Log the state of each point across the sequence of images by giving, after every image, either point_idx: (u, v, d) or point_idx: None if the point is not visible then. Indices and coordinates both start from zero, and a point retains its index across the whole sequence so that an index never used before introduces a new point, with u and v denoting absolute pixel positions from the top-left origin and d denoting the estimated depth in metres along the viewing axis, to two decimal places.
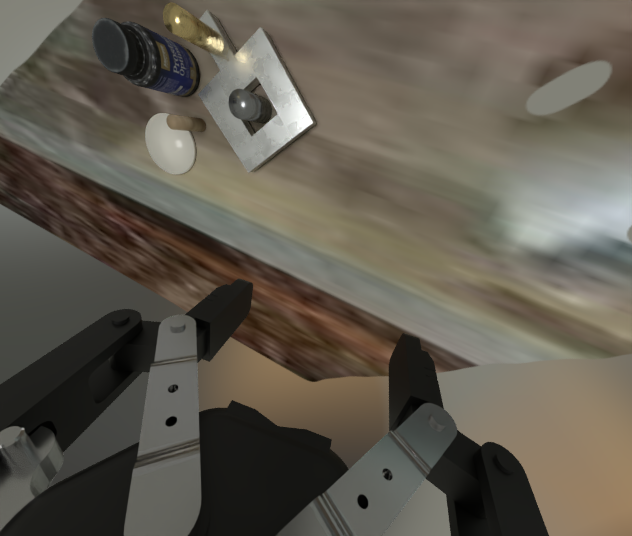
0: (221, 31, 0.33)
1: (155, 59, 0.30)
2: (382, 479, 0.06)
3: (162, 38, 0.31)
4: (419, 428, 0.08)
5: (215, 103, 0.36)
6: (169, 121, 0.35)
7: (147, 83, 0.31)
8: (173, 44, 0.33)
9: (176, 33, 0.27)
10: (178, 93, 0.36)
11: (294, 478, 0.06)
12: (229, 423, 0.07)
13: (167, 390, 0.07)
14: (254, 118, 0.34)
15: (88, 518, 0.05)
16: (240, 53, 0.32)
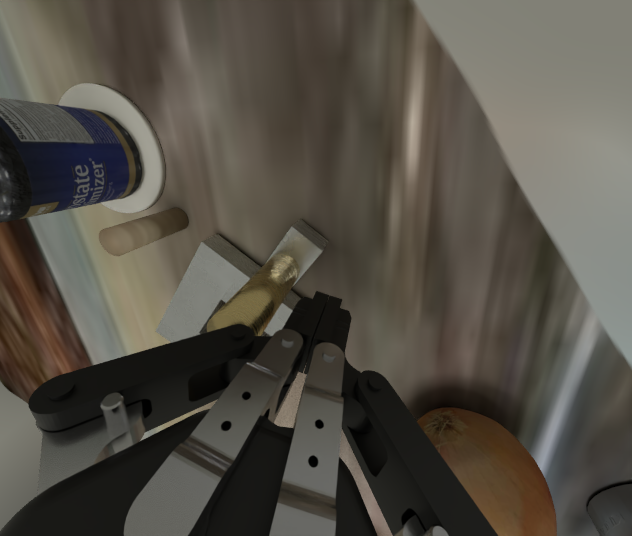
0: None
1: None
2: (317, 430, 0.07)
3: (72, 185, 0.15)
4: (320, 369, 0.09)
5: (206, 274, 0.20)
6: (108, 236, 0.16)
7: None
8: (99, 185, 0.17)
9: None
10: None
11: None
12: None
13: (241, 395, 0.07)
14: None
15: (88, 518, 0.05)
16: (287, 311, 0.20)
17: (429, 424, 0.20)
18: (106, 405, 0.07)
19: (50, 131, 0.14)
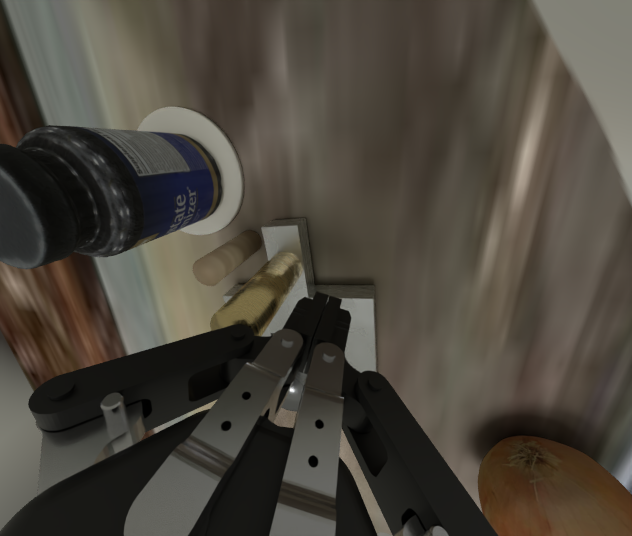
0: (305, 250, 0.18)
1: (101, 256, 0.13)
2: (317, 430, 0.07)
3: (172, 215, 0.15)
4: (320, 369, 0.09)
5: None
6: (204, 266, 0.15)
7: None
8: (190, 212, 0.16)
9: None
10: None
11: None
12: None
13: (241, 395, 0.07)
14: None
15: (88, 518, 0.05)
16: None
17: (514, 455, 0.19)
18: (106, 405, 0.07)
19: (158, 163, 0.13)
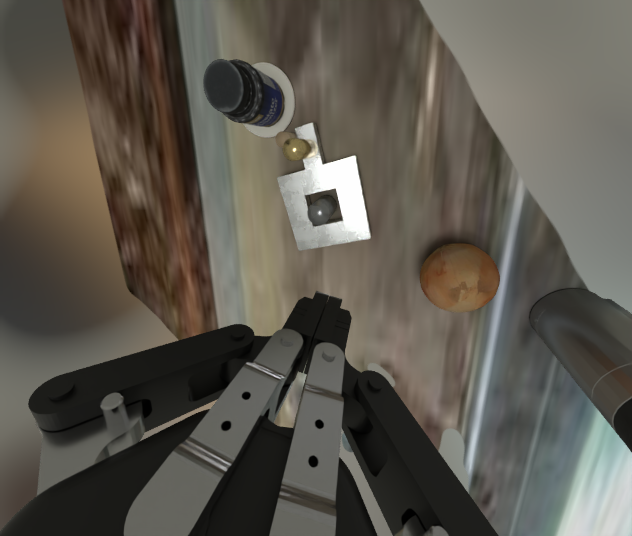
0: (317, 139, 0.36)
1: (242, 121, 0.31)
2: (318, 430, 0.07)
3: (269, 108, 0.32)
4: (320, 369, 0.09)
5: (290, 190, 0.39)
6: (281, 135, 0.33)
7: (221, 111, 0.31)
8: (274, 111, 0.33)
9: (290, 159, 0.30)
10: None
11: None
12: None
13: (241, 395, 0.07)
14: None
15: (88, 518, 0.05)
16: (328, 165, 0.36)
17: (436, 249, 0.37)
18: (106, 405, 0.07)
19: (267, 80, 0.31)
